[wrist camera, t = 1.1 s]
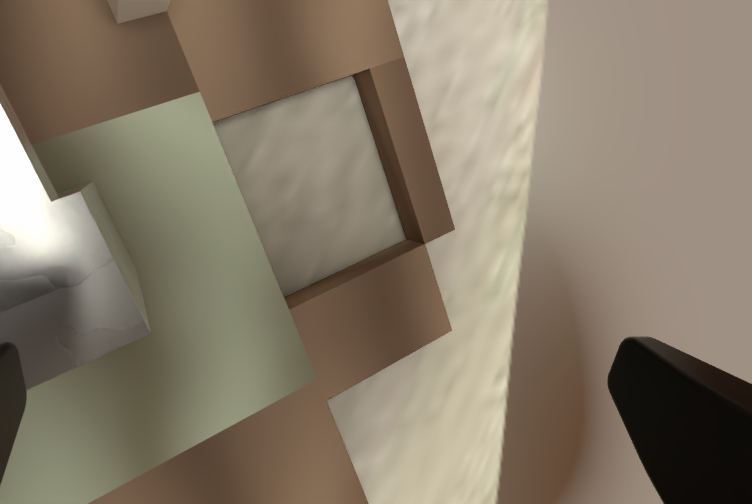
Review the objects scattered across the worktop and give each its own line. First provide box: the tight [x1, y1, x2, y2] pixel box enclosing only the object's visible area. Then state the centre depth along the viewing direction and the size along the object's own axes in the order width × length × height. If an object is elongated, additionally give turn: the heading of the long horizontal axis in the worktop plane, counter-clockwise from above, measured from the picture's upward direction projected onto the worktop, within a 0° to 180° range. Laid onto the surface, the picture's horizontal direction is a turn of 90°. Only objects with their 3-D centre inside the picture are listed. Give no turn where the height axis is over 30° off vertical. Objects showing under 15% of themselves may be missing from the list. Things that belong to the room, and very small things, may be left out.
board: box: [0, 0, 455, 504], centre depth 18 cm, size 19×32×2 cm, turn 20°
